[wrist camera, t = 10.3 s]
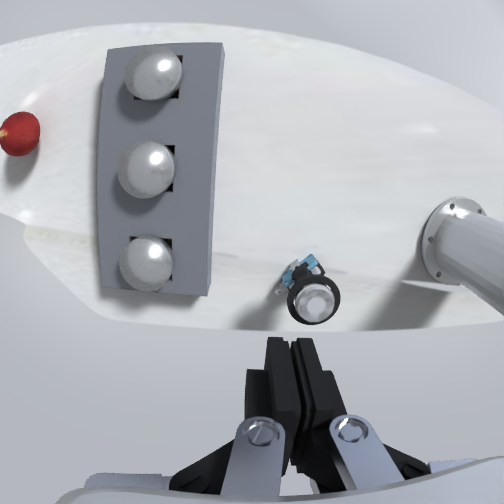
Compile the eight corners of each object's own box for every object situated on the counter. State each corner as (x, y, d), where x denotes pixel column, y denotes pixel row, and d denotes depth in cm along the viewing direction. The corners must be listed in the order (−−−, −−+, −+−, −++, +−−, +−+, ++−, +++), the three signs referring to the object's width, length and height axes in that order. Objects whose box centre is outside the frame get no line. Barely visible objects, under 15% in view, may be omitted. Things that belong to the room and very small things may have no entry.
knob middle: (185, 142, 34) (173, 140, 29) (183, 192, 36) (170, 199, 30) (137, 142, 34) (118, 140, 28) (136, 191, 36) (116, 198, 30)
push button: (287, 303, 41) (298, 346, 31) (261, 273, 40) (266, 311, 30) (329, 272, 40) (352, 308, 30) (305, 240, 38) (323, 269, 29)
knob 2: (182, 227, 37) (170, 241, 32) (181, 273, 39) (171, 293, 33) (136, 225, 37) (117, 238, 31) (137, 270, 39) (121, 289, 33)
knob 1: (192, 60, 31) (182, 44, 26) (188, 107, 33) (176, 98, 27) (145, 62, 31) (128, 48, 26) (140, 108, 33) (121, 100, 27)
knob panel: (224, 53, 32) (222, 42, 28) (210, 282, 40) (206, 296, 36) (120, 58, 31) (107, 49, 27) (114, 274, 39) (102, 286, 36)
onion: (17, 150, 34) (-20, 153, 26) (27, 110, 32) (-9, 107, 25) (45, 158, 35) (8, 162, 27) (56, 117, 33) (20, 113, 25)
